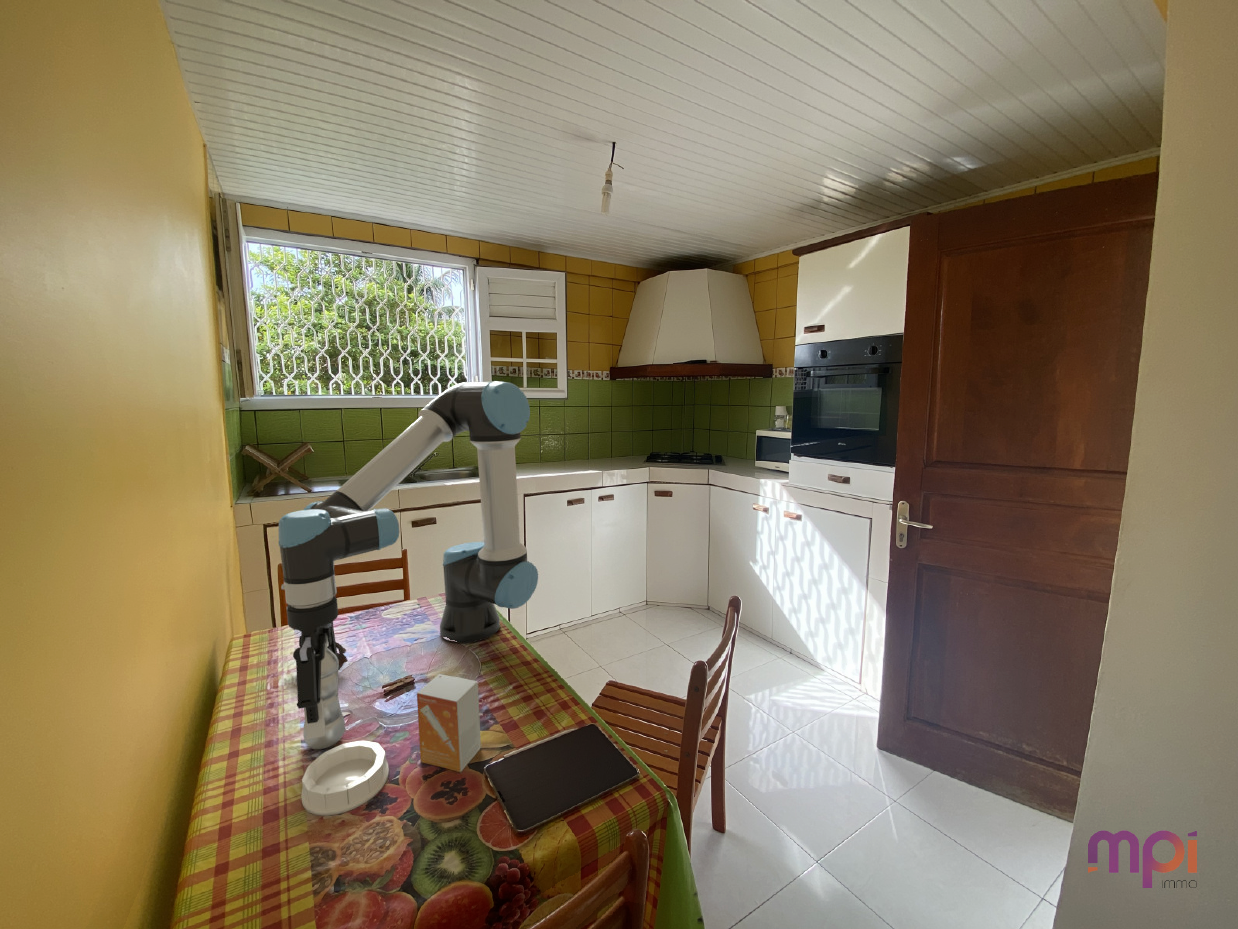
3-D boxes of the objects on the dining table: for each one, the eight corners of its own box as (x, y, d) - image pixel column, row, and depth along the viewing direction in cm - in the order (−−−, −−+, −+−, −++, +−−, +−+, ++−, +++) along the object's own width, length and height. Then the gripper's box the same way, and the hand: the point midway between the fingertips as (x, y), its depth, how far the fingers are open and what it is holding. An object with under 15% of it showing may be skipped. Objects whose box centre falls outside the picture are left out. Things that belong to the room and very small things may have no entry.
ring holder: (394, 750, 90) (392, 733, 89) (382, 805, 78) (380, 785, 77) (314, 764, 86) (313, 747, 86) (289, 824, 74) (287, 804, 74)
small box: (419, 763, 86) (415, 692, 85) (443, 739, 92) (439, 672, 91) (460, 774, 84) (456, 701, 82) (482, 748, 90) (478, 680, 88)
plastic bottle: (317, 760, 87) (306, 651, 84) (297, 745, 91) (285, 640, 88) (353, 738, 93) (344, 635, 90) (333, 725, 96) (323, 626, 93)
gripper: (306, 580, 97) (317, 691, 100) (263, 629, 77) (278, 765, 80) (349, 576, 99) (358, 685, 102) (318, 623, 79) (331, 756, 82)
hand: (323, 720), depth 91 cm, fingers open, 8 cm apart
